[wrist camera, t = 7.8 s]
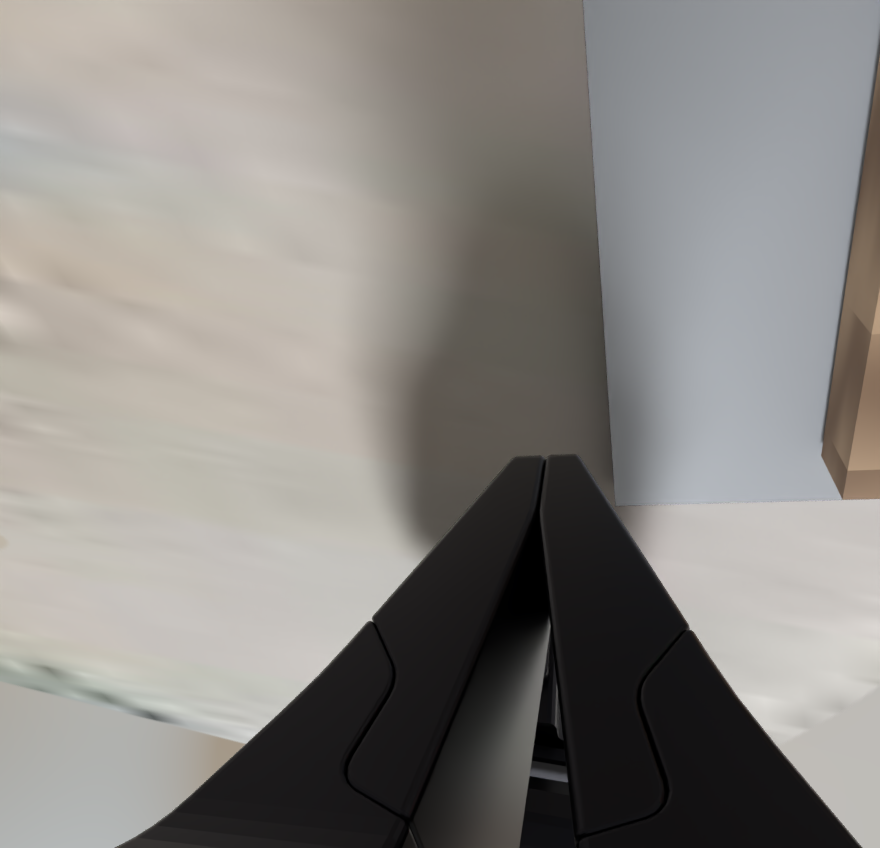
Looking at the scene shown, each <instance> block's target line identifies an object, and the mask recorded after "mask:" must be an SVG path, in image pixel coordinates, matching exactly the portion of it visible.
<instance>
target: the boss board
mask: <svg viewBox="0 0 880 848" xmlns="http://www.w3.org/2000/svg"><path fill="white" fill-rule="evenodd" d="M583 9H584V25H585V41H586V56H587V72H588V87H589V103H590V119H591V134H592V150H593V165H594V181H595V197H596V212H597V228H598V243H599V259H600V275H601V290H602V306H603V321H604V337H605V353H606V368H607V384H608V399H609V415H610V431H611V446H612V462H613V477H614V493H615V506H636V505H673V504H711V503H749V502H787V501H825V500H842V498H841V496H840V494H839V491H838V489H837V487H836V485H835V483H834V481H833V479H832V477H831V475H830V473H829V471H828V469H827V467H826V465H825V463H824V461H823V459H822V457H821V453H822V446H823V439H824V432H825V426H826V419H827V412H828V405H829V398H830V391H831V385H832V378H833V371H834V364H835V357H836V350H837V343H838V337H839V330H840V323H841V316H842V309H843V302H844V296H845V289H846V282H847V275H848V268H849V261H850V255H851V248H852V241H853V234H854V227H855V220H856V213H857V207H858V200H859V193H860V186H861V179H862V172H863V166H864V159H865V152H866V145H867V138H868V131H869V125H870V118H871V111H872V104H873V97H874V90H875V83H876V77H877V70H878V63H879V56H880V0H583ZM852 500H863V499H852Z"/></svg>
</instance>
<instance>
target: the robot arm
mask: <svg viewBox="0 0 880 848" xmlns="http://www.w3.org/2000/svg"><path fill="white" fill-rule="evenodd" d="M372 621H373V622H372ZM372 621H368V622H367V623H366V624H365V625H364V626H363V627H362V629H361V630H360V631H359V632H358V633H357V634H356V635H355V637H354V638H353V639H352V640H351V641H350V642H349V643H348V644H347V645H346V646H345V648H344V649H343V650H342V651H341V652H340V653H339V654H338V655H337V656H336V657H335V658H334V659H333V660H332V661H331V663H330V664H329V665H328V666H327V667H326V668H325V669H324V670H323V671H322V672H321V673H320V674H319V675H318V676H317V677H316V678H315V679H314V680H313V681H312V682H311V683H310V684H309V685H308V686H307V687H306V688H305V689H304V690H303V691H302V692H301V693H300V694H299V695H298V696H297V697H296V698H295V699H294V700H293V701H292V702H290V703H289V704H288V705H287V706H286V707H285V708H284V709H283V710H282V711H281V712H280V713H279V714H278V715H277V716H276V717H275V718H274V719H273V720H271V721H270V722H269V723H268V724H267V725H266V726H265V727H264V728H263V729H262V730H261V731H260V732H258V733H257V734H256V735H255V736H254V737H253V738H252V739H251V740H250V741H249V742H248V743H247V744H246V745H244V746H243V747H242V748H241V749H240V750H239V751H238V752H237V753H236V754H235V755H234V756H233V757H231V758H230V760H228V761H227V762H226V763H225V764H224V765H223V766H222V767H221V768H220V769H219V770H217V771H216V772H215V773H214V774H213V775H212V776H211V777H210V778H209V779H208V780H207V781H206V782H204V784H202V785H201V786H200V787H199V788H198V789H197V790H196V791H195V792H194V793H193V794H192V795H190V796H189V797H188V798H187V799H186V800H185V801H183V802H182V803H181V804H180V805H179V806H178V807H177V808H175V809H174V810H173V811H172V812H171V813H169V814H168V815H167V816H165V817H164V818H163V819H161V820H160V821H158V822H157V823H156V824H154V825H153V826H152V827H150V828H149V829H147V830H145V831H144V832H142V833H141V834H139V835H138V836H136V837H134V838H132V839H131V840H129V841H127V842H125V843H123V844H121V845H119V846H117V847H115V848H862V847H861V845H860V844H859V843H858V842H857V841H856V840H855V838H854V837H853V836H852V835H851V834H850V832H849V831H848V830H847V829H846V828H845V826H844V825H843V824H842V823H841V822H840V821H839V819H838V818H837V817H836V816H835V815H834V813H833V812H832V811H831V810H830V809H829V807H828V806H827V805H826V804H825V803H824V802H823V800H822V799H821V798H820V797H819V795H818V794H817V793H816V792H815V791H814V790H813V788H812V787H811V786H810V785H809V784H808V782H807V781H806V780H805V779H804V778H803V776H802V775H801V774H800V773H799V772H798V771H797V769H796V768H795V767H794V766H793V765H792V763H791V762H790V761H789V760H788V759H787V757H786V756H785V755H784V754H783V753H782V752H781V750H780V749H779V748H778V747H777V746H776V744H775V743H774V742H773V741H772V739H771V738H770V737H769V736H768V734H767V733H766V732H765V731H764V729H763V728H762V727H761V726H760V724H759V723H758V722H757V720H756V719H755V718H754V717H753V715H752V714H751V713H750V712H749V710H748V709H747V708H746V707H745V705H744V704H743V703H742V702H741V700H740V699H739V698H738V696H737V695H736V694H735V692H734V691H733V689H732V688H731V686H730V685H729V684H728V682H727V681H726V679H725V678H724V676H723V675H722V674H721V672H720V671H719V669H718V668H717V666H716V665H715V664H714V662H713V661H712V659H711V658H710V656H709V655H708V653H707V652H706V650H705V649H704V647H703V646H702V644H701V642H700V641H699V639H698V638H697V636H696V635H695V633H694V632H693V631H692V630H690V628H689V625H688V623H687V621H686V620H685V618H684V617H683V615H682V614H681V612H680V611H679V609H678V608H677V606H676V604H675V603H674V601H673V600H672V598H671V597H670V595H669V594H668V592H667V591H666V589H665V587H664V586H663V584H662V583H661V581H660V580H659V578H658V577H657V575H656V574H655V572H654V571H653V569H652V567H651V566H650V564H649V563H648V561H647V560H646V558H645V557H644V555H643V554H642V552H641V550H640V549H639V547H638V546H637V544H636V543H635V541H634V540H633V538H632V537H631V535H630V533H629V532H628V530H627V529H626V527H625V526H624V524H623V523H622V521H621V520H620V518H619V516H618V515H617V513H616V512H615V510H614V509H613V507H612V506H611V504H610V503H609V501H608V500H607V498H606V496H605V495H604V493H603V492H602V490H601V489H600V487H599V486H598V484H597V483H596V481H595V479H594V478H593V476H592V475H591V473H590V472H589V470H588V469H587V467H586V466H585V464H584V462H583V461H582V459H581V458H580V457H579V456H578V455H576V454H564V455H550V456H548V457H547V459H545V458H544V457H543V456H540V455H537V456H516V457H514V458H513V459H511V460H510V462H509V463H508V464H507V465H506V466H505V467H504V468H503V470H502V471H501V472H500V473H499V474H498V475H497V476H496V477H495V479H494V480H493V481H492V482H491V483H490V484H489V485H488V487H487V488H486V489H485V490H484V491H483V492H482V493H481V494H480V496H479V497H478V498H477V499H476V500H475V501H474V502H473V503H472V505H471V506H470V507H469V508H468V509H467V510H466V511H465V513H464V514H463V515H462V516H461V517H460V518H459V519H458V520H457V522H456V523H455V524H454V525H453V526H452V527H451V528H450V529H449V531H448V532H447V533H446V534H445V535H444V536H443V537H442V539H441V540H440V541H439V542H438V543H437V544H436V545H435V546H434V548H433V549H432V550H431V551H430V552H429V553H428V554H427V555H426V557H425V558H424V559H423V560H422V561H421V562H420V563H419V565H418V566H417V567H416V568H415V569H414V570H413V571H412V572H411V574H410V575H409V576H408V577H407V578H406V579H405V580H404V582H403V583H402V584H401V585H400V586H399V587H398V588H397V589H396V591H395V592H394V593H393V594H392V595H391V596H390V597H389V598H388V600H387V601H386V602H385V603H384V604H383V605H382V606H381V608H380V609H379V610H378V611H377V612H376V613H375V614H374V615H373V617H372Z"/></svg>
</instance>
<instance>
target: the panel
mask: <svg viewBox="0 0 880 848" xmlns="http://www.w3.org/2000/svg"><path fill="white" fill-rule="evenodd" d="M821 457H822V459H823V461H824V463H825V465H826V467H827V469H828V471H829V473H830V475H831V477H832V479H833V481H834V483H835V485H836V487H837V489H838V491H839V494H840V496H841V498H842V500H852V499H880V56H879V63H878V70H877V77H876V83H875V90H874V97H873V104H872V111H871V118H870V125H869V131H868V138H867V145H866V152H865V159H864V166H863V172H862V179H861V186H860V193H859V200H858V207H857V213H856V220H855V227H854V234H853V241H852V248H851V255H850V261H849V268H848V275H847V282H846V289H845V296H844V302H843V309H842V316H841V323H840V330H839V337H838V343H837V350H836V357H835V364H834V371H833V378H832V385H831V391H830V398H829V405H828V412H827V419H826V426H825V432H824V439H823V446H822V453H821Z"/></svg>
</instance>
